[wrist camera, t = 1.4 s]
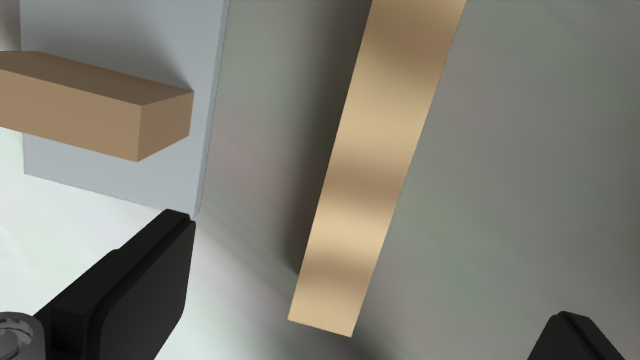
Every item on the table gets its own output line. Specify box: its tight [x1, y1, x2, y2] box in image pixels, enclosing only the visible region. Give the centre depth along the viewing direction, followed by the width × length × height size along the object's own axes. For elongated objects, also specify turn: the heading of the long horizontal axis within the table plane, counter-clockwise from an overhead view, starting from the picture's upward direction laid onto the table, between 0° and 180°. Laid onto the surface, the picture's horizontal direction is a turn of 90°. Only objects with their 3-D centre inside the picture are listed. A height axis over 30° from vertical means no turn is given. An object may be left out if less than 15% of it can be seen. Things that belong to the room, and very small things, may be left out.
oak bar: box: [287, 0, 466, 337], centre depth 23 cm, size 20×4×5 cm, turn 165°
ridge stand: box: [0, 0, 230, 218], centre depth 22 cm, size 12×14×7 cm
